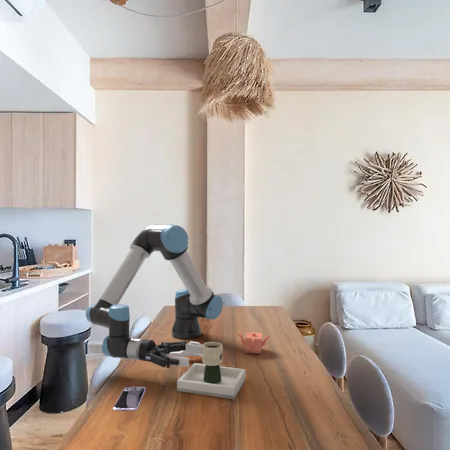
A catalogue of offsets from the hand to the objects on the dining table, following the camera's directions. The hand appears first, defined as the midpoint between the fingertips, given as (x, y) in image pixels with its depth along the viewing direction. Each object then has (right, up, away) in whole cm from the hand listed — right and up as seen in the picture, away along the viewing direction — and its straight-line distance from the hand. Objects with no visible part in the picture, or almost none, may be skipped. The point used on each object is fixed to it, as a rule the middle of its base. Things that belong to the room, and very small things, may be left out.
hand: (195, 355), depth 129 cm
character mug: (+6, -9, -2) cm, 11 cm away
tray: (+6, -10, -2) cm, 11 cm away
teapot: (+23, -10, +32) cm, 41 cm away
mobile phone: (-20, -10, -12) cm, 26 cm away
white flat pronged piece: (-5, -10, +22) cm, 24 cm away
